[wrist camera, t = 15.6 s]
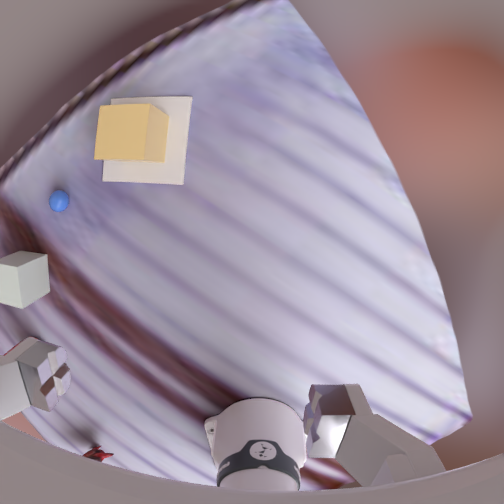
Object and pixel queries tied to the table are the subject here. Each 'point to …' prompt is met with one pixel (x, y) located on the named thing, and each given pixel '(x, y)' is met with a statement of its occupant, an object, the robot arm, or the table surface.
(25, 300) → the matte white cube
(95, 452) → the decorative bird figurine
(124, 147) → the tan cube
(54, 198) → the marble
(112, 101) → the grey mat
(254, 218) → the table surface
